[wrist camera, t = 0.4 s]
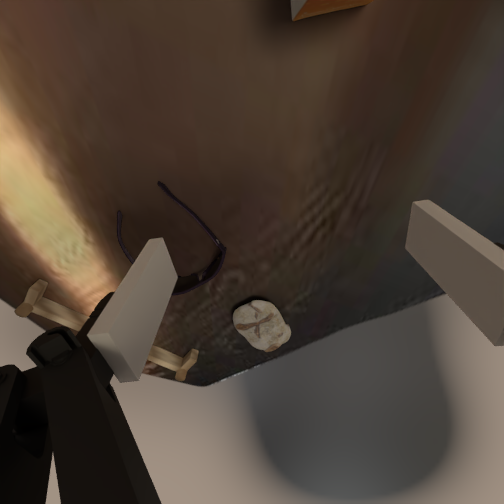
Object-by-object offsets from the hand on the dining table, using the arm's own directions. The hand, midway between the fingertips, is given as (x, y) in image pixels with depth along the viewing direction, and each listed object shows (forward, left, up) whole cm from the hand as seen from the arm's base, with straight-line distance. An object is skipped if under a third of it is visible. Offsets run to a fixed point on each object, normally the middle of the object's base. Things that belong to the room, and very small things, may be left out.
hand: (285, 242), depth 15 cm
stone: (+20, -29, -26) cm, 44 cm away
